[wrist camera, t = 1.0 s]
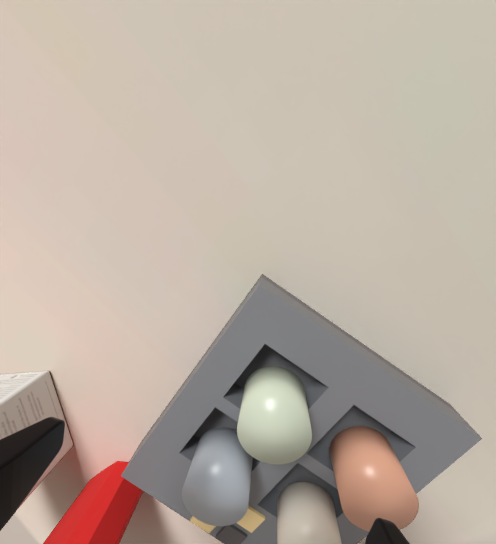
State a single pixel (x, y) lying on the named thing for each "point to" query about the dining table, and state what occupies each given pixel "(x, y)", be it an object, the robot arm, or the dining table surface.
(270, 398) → the sage button
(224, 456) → the slate button
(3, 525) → the robot arm
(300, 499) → the ivory button
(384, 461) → the terracotta button
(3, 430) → the small box
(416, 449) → the button board
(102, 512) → the french fries
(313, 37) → the dining table surface
